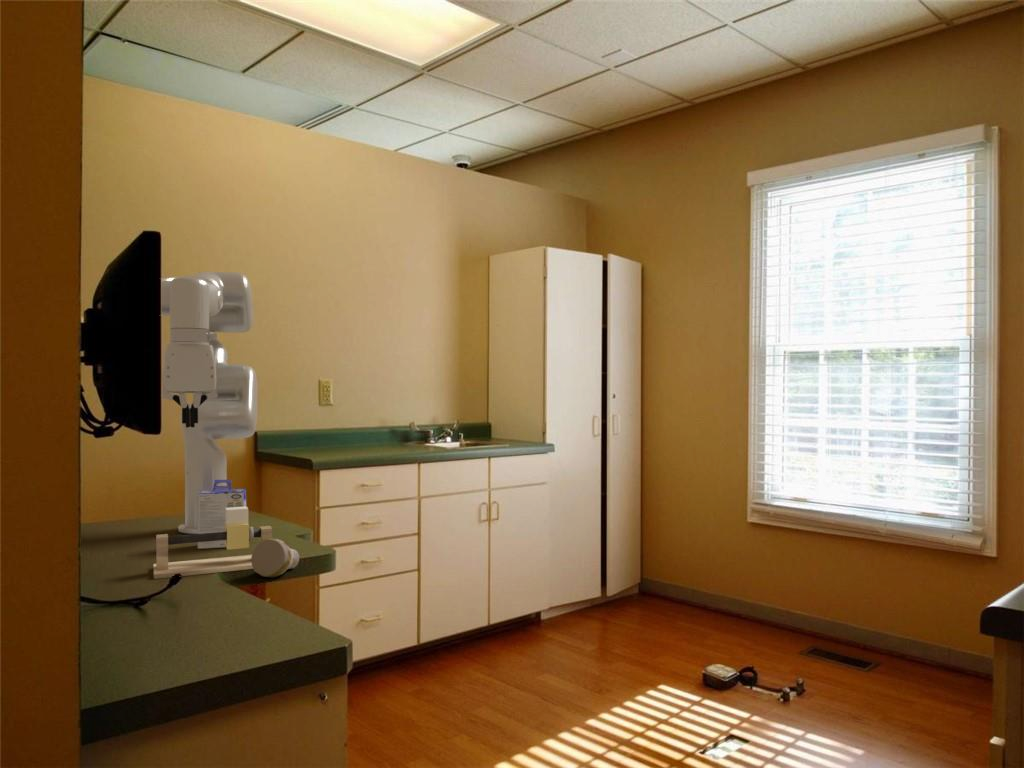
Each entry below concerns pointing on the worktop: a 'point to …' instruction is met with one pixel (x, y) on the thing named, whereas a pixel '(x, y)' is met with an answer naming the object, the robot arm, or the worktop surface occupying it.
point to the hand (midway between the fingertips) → (190, 426)
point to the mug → (273, 558)
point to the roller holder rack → (204, 565)
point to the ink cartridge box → (217, 510)
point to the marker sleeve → (237, 527)
